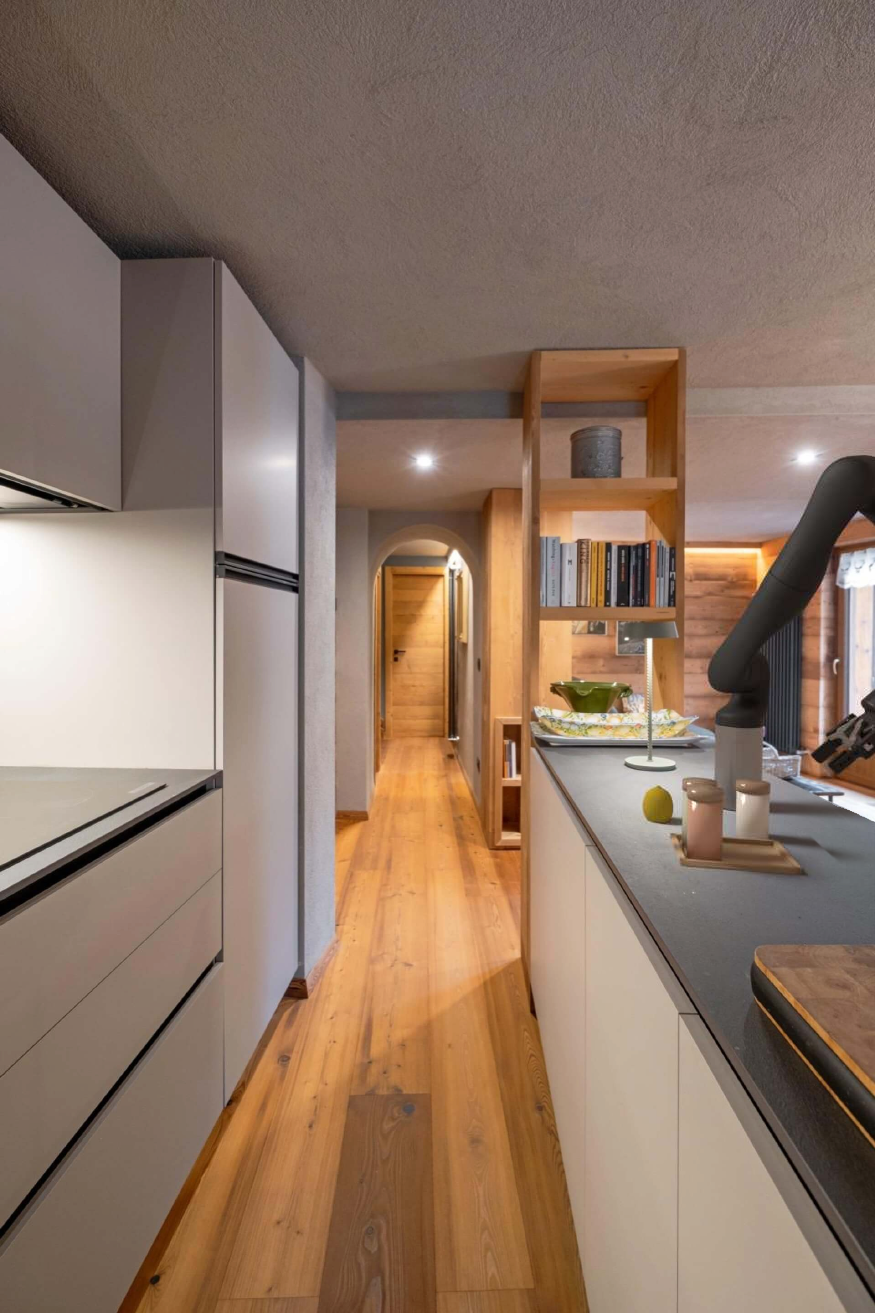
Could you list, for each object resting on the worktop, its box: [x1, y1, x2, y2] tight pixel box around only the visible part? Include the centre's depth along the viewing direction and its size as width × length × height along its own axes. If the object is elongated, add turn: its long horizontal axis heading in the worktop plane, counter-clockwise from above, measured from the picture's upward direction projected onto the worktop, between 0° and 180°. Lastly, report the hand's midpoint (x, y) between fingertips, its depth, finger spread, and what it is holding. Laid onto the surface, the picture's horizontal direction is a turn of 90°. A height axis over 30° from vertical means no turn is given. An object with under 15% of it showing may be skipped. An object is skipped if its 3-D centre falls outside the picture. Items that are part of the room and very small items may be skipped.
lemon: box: [642, 785, 674, 824], centre depth 127 cm, size 6×6×8 cm
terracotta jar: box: [686, 785, 724, 861], centre depth 106 cm, size 5×5×11 cm
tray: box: [669, 832, 804, 876], centre depth 108 cm, size 14×17×2 cm
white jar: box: [735, 779, 771, 840], centre depth 117 cm, size 5×5×11 cm
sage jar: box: [681, 776, 718, 849], centre depth 111 cm, size 5×5×11 cm
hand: (823, 764), depth 114 cm, fingers open, 8 cm apart
